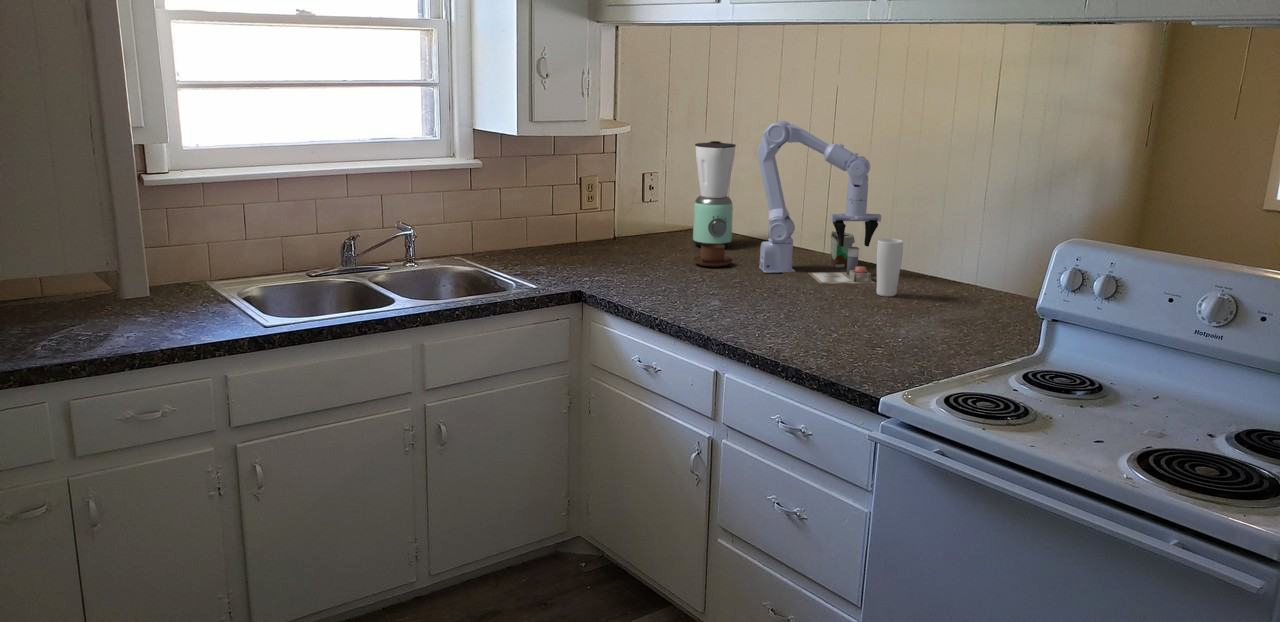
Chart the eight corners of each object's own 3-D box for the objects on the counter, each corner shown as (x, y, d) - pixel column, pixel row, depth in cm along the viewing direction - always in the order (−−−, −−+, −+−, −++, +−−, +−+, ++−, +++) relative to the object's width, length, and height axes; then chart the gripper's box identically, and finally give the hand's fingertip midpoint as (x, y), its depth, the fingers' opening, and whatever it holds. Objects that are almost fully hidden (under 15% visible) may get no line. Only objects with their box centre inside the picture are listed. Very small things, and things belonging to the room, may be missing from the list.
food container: (856, 271, 297) (858, 238, 294) (836, 270, 297) (838, 238, 294) (848, 262, 309) (851, 231, 306) (829, 262, 309) (831, 230, 306)
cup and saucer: (687, 262, 307) (688, 242, 305) (723, 260, 310) (724, 241, 309) (700, 270, 296) (701, 250, 294) (737, 268, 299) (738, 248, 297)
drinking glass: (884, 298, 263) (889, 243, 259) (868, 293, 269) (872, 239, 265) (904, 296, 266) (908, 241, 262) (887, 291, 272) (891, 237, 268)
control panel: (820, 285, 277) (820, 275, 277) (807, 274, 291) (808, 264, 290) (875, 284, 279) (876, 274, 278) (860, 274, 292) (860, 264, 292)
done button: (856, 275, 280) (857, 268, 279) (853, 273, 283) (853, 266, 282) (866, 275, 280) (867, 268, 280) (863, 272, 283) (864, 266, 283)
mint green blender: (738, 250, 326) (742, 143, 317) (699, 251, 323) (702, 143, 314) (722, 240, 344) (725, 138, 335) (685, 240, 341) (687, 138, 332)
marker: (848, 275, 287) (850, 248, 285) (845, 273, 290) (846, 246, 288) (858, 275, 288) (860, 248, 286) (855, 273, 291) (857, 246, 289)
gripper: (836, 201, 279) (833, 248, 282) (886, 201, 280) (882, 248, 284) (829, 198, 286) (826, 244, 289) (877, 198, 287) (874, 243, 291)
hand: (853, 245), depth 287 cm, fingers open, 7 cm apart
